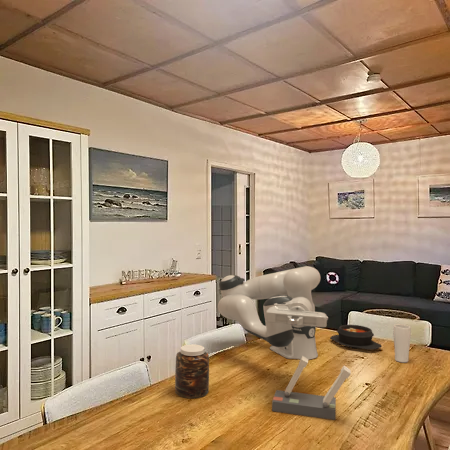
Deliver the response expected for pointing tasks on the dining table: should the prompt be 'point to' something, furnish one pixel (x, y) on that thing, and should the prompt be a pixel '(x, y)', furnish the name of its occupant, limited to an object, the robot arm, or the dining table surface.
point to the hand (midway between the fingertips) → (293, 322)
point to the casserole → (356, 337)
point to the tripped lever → (296, 375)
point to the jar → (192, 372)
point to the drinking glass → (402, 342)
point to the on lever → (336, 385)
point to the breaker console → (303, 405)
